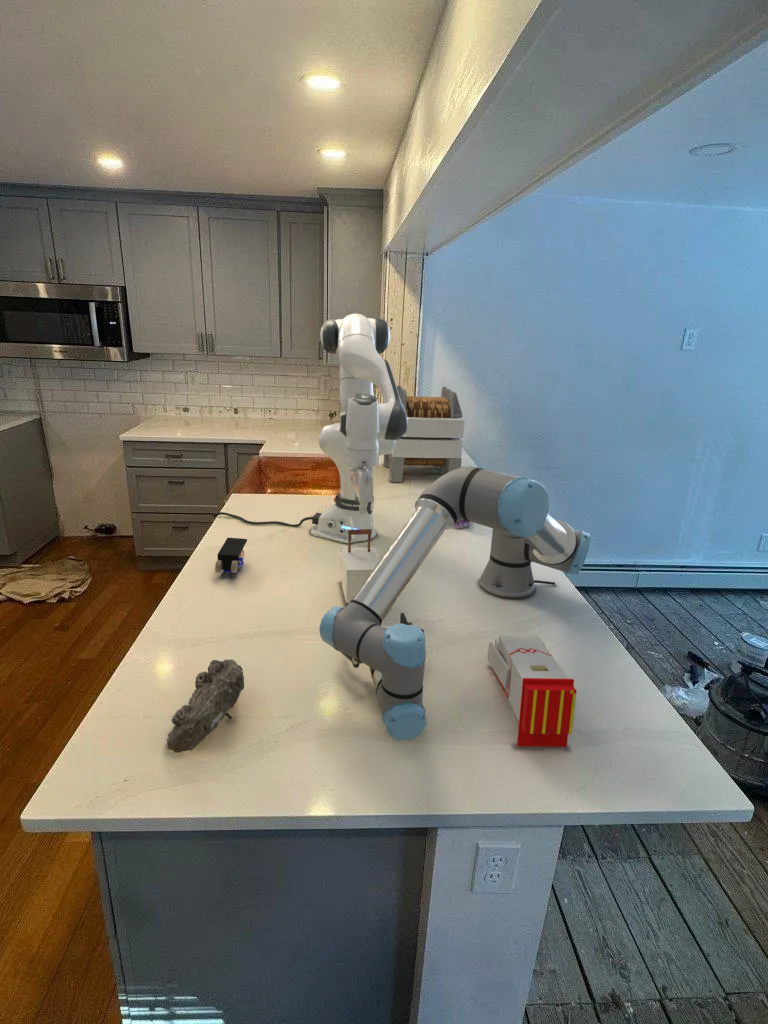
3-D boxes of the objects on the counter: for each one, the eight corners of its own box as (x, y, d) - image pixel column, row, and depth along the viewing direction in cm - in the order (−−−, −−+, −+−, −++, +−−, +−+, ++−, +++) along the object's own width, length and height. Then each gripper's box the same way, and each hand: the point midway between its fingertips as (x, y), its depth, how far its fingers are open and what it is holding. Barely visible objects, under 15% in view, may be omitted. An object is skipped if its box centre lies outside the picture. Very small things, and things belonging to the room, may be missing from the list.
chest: (340, 582, 163) (341, 552, 160) (373, 581, 165) (374, 551, 161) (346, 605, 150) (346, 573, 147) (381, 604, 152) (382, 572, 149)
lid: (341, 551, 160) (341, 526, 158) (374, 550, 162) (375, 525, 160) (346, 573, 147) (347, 546, 145) (382, 572, 149) (383, 545, 146)
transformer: (382, 463, 289) (386, 382, 275) (445, 464, 293) (451, 384, 279) (390, 482, 257) (394, 392, 243) (460, 483, 261) (468, 394, 247)
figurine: (456, 530, 205) (460, 491, 199) (441, 521, 213) (444, 483, 208) (477, 527, 209) (481, 488, 204) (461, 518, 217) (465, 480, 212)
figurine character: (238, 584, 162) (249, 557, 175) (236, 562, 158) (247, 536, 172) (215, 584, 161) (227, 556, 175) (212, 561, 158) (225, 535, 171)
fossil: (192, 660, 117) (244, 628, 112) (224, 691, 120) (276, 661, 115) (142, 746, 98) (202, 712, 93) (182, 779, 101) (242, 748, 96)
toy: (536, 619, 129) (586, 686, 99) (531, 673, 131) (578, 754, 102) (483, 618, 128) (517, 685, 99) (479, 672, 131) (511, 753, 102)
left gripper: (380, 468, 140) (378, 520, 145) (368, 448, 159) (366, 495, 164) (354, 468, 139) (353, 521, 144) (345, 448, 158) (344, 495, 163)
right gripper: (328, 695, 112) (319, 636, 131) (449, 685, 116) (424, 630, 136) (328, 663, 109) (320, 608, 129) (452, 654, 114) (426, 602, 133)
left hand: (360, 507), depth 154 cm, fingers open, 8 cm apart
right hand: (373, 619), depth 132 cm, fingers open, 13 cm apart
